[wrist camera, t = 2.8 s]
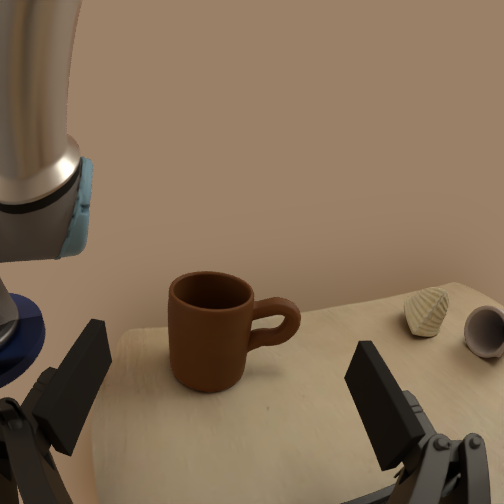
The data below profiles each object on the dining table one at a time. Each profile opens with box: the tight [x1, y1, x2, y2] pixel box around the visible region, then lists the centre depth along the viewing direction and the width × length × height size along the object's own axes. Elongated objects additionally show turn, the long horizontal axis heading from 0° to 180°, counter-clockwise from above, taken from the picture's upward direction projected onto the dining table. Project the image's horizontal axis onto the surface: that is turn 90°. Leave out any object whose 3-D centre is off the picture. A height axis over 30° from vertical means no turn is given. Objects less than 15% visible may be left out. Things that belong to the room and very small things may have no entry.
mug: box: [168, 271, 301, 392], centre depth 26 cm, size 12×8×9 cm, turn 90°
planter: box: [464, 306, 504, 358], centre depth 36 cm, size 8×9×26 cm
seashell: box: [404, 287, 449, 337], centre depth 39 cm, size 8×8×8 cm
